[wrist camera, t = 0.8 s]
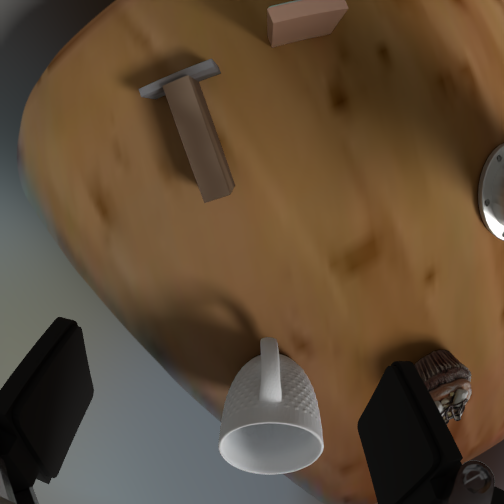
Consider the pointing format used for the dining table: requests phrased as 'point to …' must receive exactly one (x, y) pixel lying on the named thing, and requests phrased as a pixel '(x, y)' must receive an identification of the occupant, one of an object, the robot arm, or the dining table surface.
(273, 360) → the mug
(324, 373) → the dining table surface
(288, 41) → the tile
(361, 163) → the dining table surface
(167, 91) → the scraper
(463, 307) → the dining table surface
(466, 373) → the cupcake
